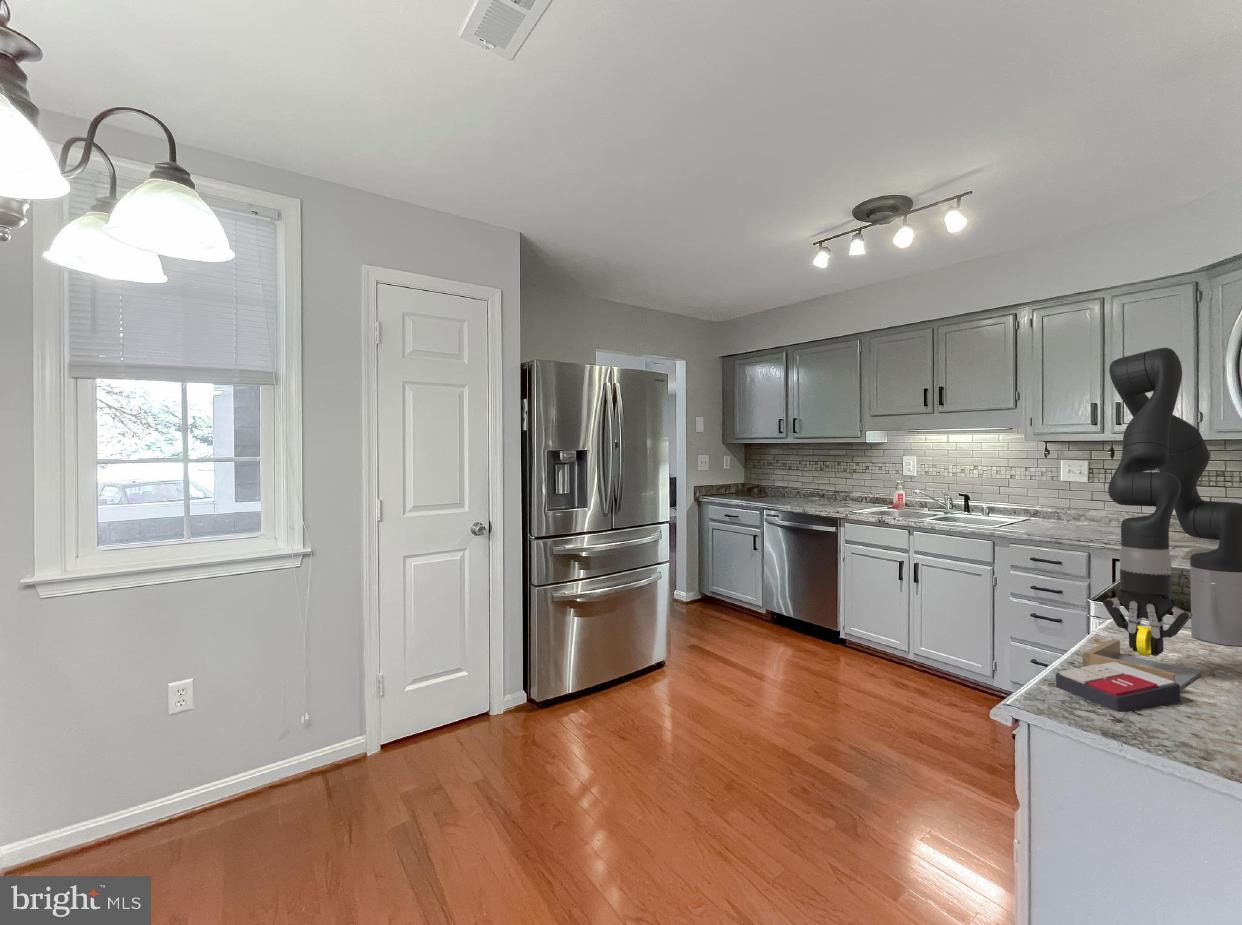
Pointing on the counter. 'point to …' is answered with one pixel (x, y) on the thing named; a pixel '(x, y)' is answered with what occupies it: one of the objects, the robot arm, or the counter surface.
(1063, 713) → the counter surface
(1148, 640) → the watch
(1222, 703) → the counter surface
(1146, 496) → the robot arm
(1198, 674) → the corner tray
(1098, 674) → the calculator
